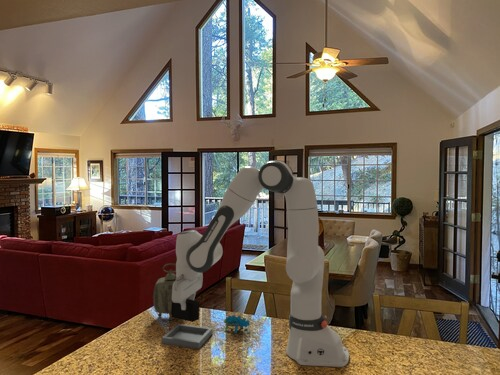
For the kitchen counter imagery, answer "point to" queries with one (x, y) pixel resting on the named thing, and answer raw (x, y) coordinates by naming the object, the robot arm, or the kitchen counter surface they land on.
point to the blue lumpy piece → (236, 322)
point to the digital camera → (186, 311)
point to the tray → (187, 336)
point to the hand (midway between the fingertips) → (187, 306)
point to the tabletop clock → (164, 293)
